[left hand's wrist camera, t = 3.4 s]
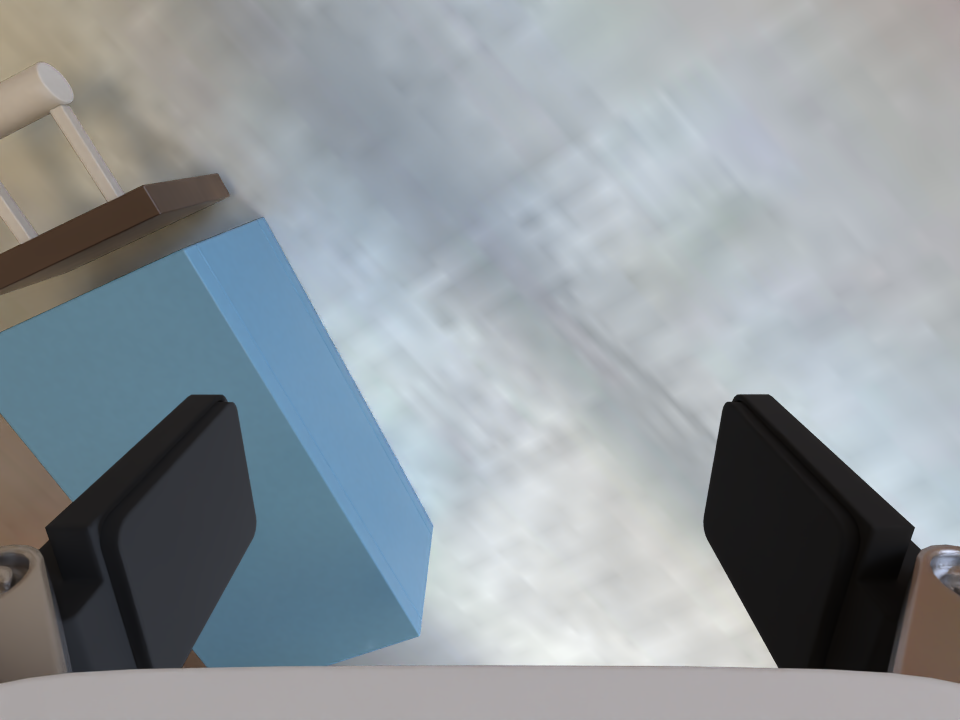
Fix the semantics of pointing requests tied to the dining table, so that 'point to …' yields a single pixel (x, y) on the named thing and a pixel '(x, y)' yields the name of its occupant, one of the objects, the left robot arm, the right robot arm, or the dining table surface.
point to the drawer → (123, 214)
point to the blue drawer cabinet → (265, 432)
